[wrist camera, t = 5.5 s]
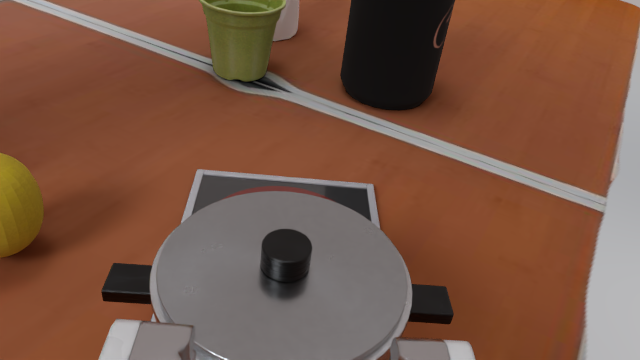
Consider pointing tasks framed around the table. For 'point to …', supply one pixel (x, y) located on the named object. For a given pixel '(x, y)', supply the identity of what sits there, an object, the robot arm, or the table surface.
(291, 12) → the vase
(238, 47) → the plant pot
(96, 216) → the table surface
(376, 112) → the table surface
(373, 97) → the coffee jar
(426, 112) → the table surface
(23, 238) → the lemon
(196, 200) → the hob
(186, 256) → the steel pot
